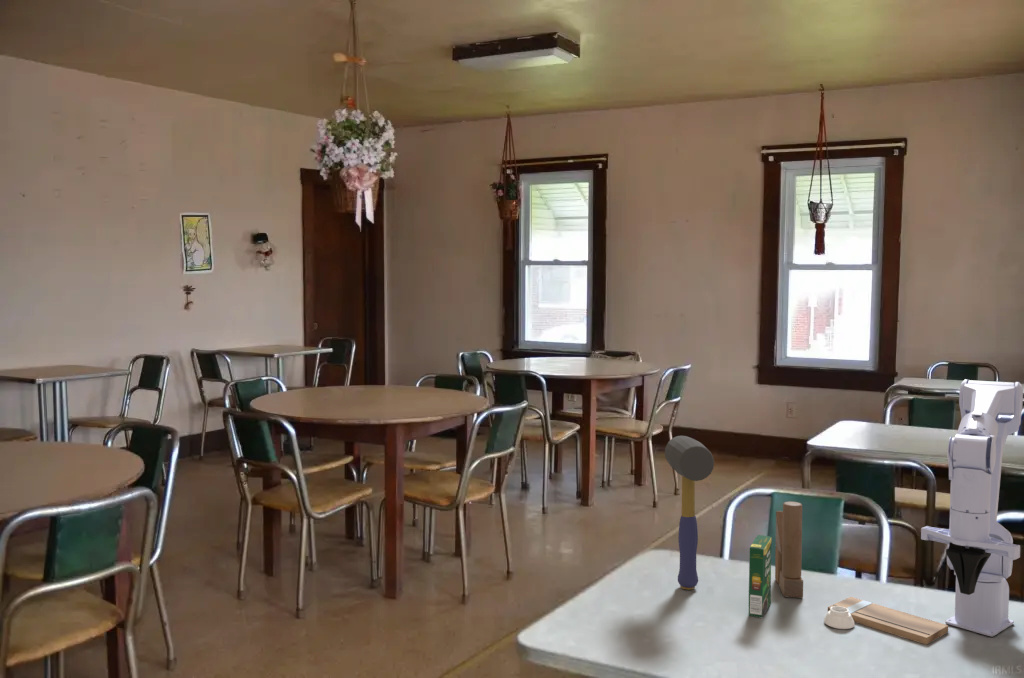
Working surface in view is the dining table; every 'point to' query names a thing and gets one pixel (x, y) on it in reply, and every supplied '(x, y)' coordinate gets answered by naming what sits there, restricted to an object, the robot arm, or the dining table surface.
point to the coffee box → (760, 576)
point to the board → (893, 620)
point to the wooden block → (789, 549)
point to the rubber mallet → (688, 499)
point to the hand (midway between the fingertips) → (967, 592)
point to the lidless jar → (839, 618)
